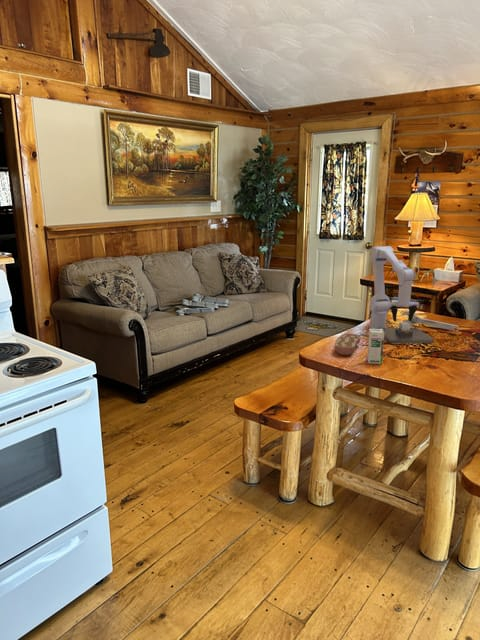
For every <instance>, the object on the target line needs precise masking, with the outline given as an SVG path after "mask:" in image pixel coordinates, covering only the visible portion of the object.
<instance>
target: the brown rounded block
mask: <svg viewBox="0 0 480 640" xmlns="http://www.w3.org/2000/svg"><path fill="white" fill-rule="evenodd" d="M361 339H362V337H361V335H360V334H357V333H344V334H340V336H338V337H337V338H336V340H334V341H335V342H334V349H335V351H336V352H337V353H338V354H339V355H341V356H349V355H351V354H352V353H353V352H354V351H355V348H356V346H357V345H359V343H360V342H361Z"/></svg>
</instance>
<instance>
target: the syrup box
mask: <svg viewBox="0 0 480 640" xmlns="http://www.w3.org/2000/svg"><path fill="white" fill-rule="evenodd" d="M384 341H385V339H384V331H383V329H371V328H369V329H368V344H367V357H366V360H367V362H368V364H370V365H371V364H372V365H373V364H375V365H382V364H383V358H384V357H383V356H384V354H383V353H384Z"/></svg>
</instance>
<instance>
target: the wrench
mask: <svg viewBox="0 0 480 640" xmlns="http://www.w3.org/2000/svg"><path fill="white" fill-rule="evenodd" d="M405 315H406V316H407V317H409V310H404V311H403V312H402V313H401V316H405ZM402 322H408V323H409V324H410V327H415V326H414V325H417V324H420V325H421V324H422V325H425V326H426V325H427V326H431V327H434V328H439V329H443V330H446V331H447V330H448V331H452V330H453V331H454V332H459V330H460V326H459V325H457V324H452V323H447V322H442V321H436V320H432V319H427V318H422V317H420V316H418V315H416V313H414V315H413V317H412V320H411V321H409V320H408V319H403V320H402ZM455 327H457V329H455ZM455 330H456V331H455Z"/></svg>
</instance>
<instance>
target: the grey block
mask: <svg viewBox="0 0 480 640" xmlns="http://www.w3.org/2000/svg"><path fill="white" fill-rule="evenodd" d="M410 327H411V326H410V324H409V323H408V322H403V321H400V322H399V323H398V328H399V330H400V331H410Z"/></svg>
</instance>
